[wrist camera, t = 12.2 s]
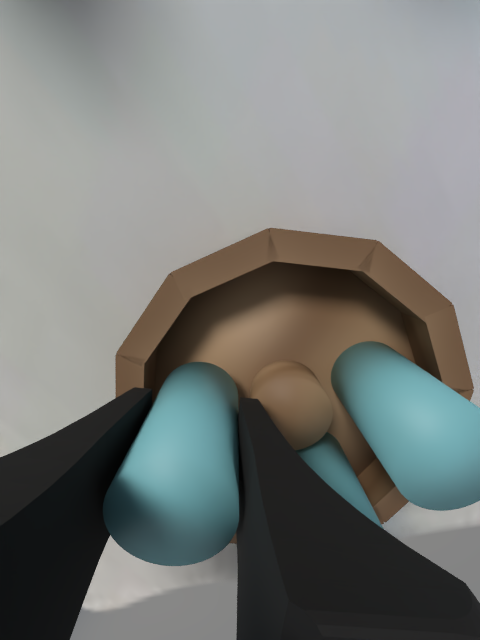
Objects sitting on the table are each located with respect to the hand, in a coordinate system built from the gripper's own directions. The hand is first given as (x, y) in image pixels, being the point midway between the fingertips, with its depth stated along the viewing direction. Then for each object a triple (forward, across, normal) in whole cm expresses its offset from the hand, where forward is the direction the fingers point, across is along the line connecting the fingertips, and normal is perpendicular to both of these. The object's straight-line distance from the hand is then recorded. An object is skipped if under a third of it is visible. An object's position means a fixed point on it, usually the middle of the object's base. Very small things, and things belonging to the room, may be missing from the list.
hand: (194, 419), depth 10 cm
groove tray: (+3, -4, 0) cm, 5 cm away
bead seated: (+2, -7, -1) cm, 7 cm away
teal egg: (+1, 0, 0) cm, 1 cm away
